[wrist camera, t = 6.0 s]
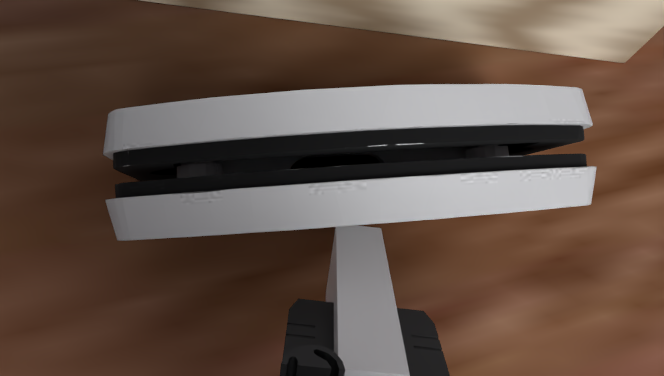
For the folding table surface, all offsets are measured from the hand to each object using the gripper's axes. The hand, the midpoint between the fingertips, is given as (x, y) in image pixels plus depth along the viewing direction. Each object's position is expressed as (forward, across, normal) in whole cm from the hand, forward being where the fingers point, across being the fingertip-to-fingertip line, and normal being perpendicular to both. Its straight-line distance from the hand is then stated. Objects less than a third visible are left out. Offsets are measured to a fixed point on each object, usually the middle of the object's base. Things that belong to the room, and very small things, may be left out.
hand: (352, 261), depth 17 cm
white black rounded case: (+6, 0, 0) cm, 6 cm away
